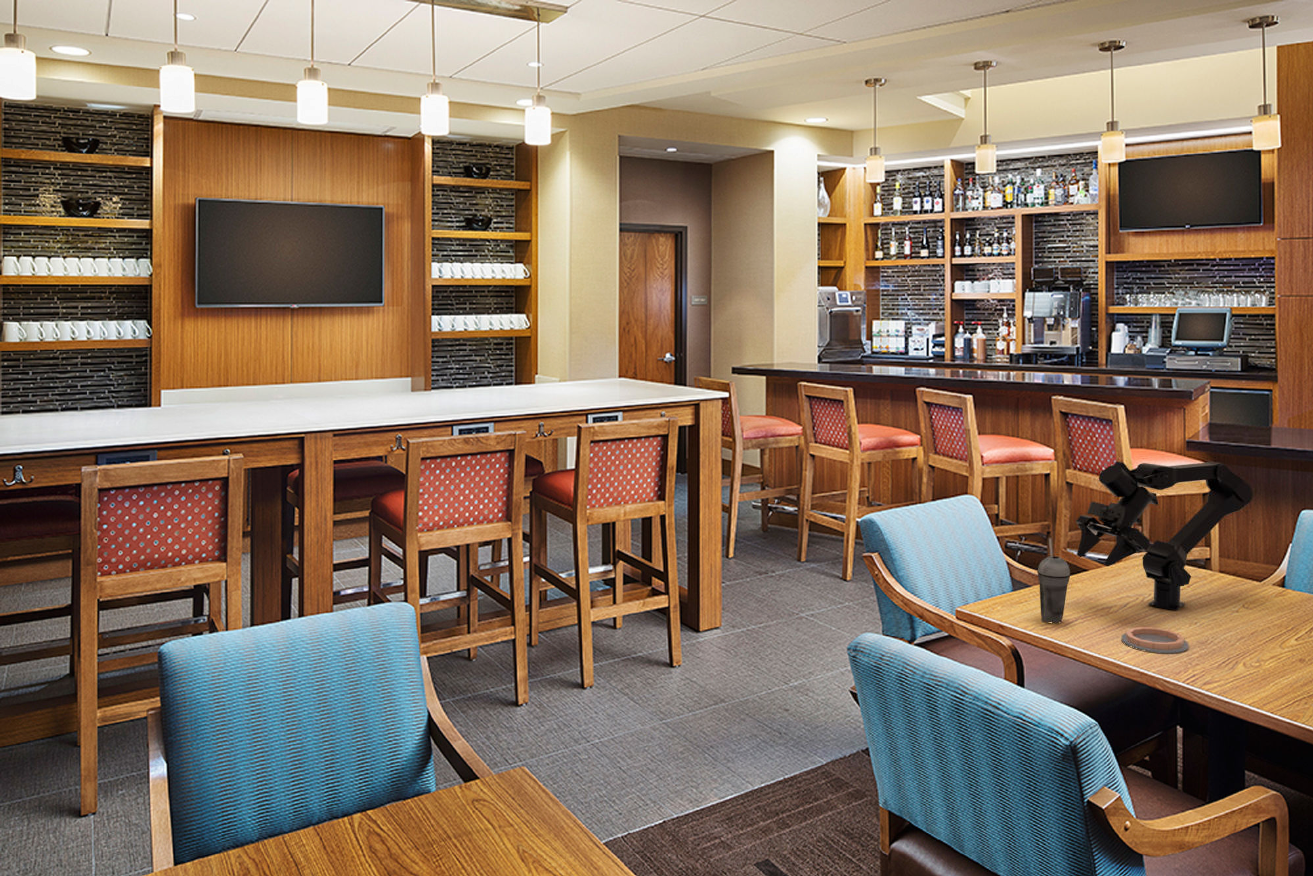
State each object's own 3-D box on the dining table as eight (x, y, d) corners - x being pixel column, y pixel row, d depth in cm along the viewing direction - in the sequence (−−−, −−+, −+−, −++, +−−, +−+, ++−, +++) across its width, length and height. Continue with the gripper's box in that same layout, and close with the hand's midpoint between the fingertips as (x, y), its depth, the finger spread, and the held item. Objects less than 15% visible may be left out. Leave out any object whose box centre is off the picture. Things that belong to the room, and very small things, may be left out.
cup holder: (1133, 629, 216) (1134, 622, 216) (1196, 642, 207) (1197, 634, 207) (1112, 644, 207) (1112, 636, 207) (1176, 658, 198) (1177, 650, 198)
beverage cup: (1071, 626, 220) (1075, 543, 217) (1038, 624, 221) (1041, 541, 218) (1064, 616, 227) (1068, 535, 224) (1032, 614, 228) (1035, 534, 225)
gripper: (1080, 482, 233) (1044, 533, 232) (1138, 495, 215) (1099, 550, 214) (1108, 508, 236) (1073, 558, 235) (1167, 523, 218) (1129, 577, 217)
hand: (1091, 560), depth 225 cm, fingers open, 9 cm apart
